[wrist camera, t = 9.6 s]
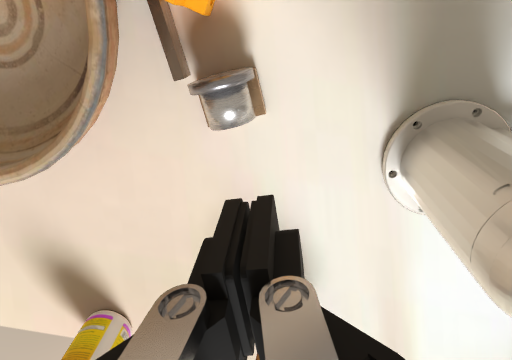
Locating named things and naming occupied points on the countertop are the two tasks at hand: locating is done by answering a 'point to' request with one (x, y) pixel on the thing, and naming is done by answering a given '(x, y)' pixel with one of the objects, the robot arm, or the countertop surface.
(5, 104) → the ceramic bowl
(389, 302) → the countertop surface
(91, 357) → the supplement bottle
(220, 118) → the pipe run
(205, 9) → the pipe clamp
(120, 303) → the countertop surface
